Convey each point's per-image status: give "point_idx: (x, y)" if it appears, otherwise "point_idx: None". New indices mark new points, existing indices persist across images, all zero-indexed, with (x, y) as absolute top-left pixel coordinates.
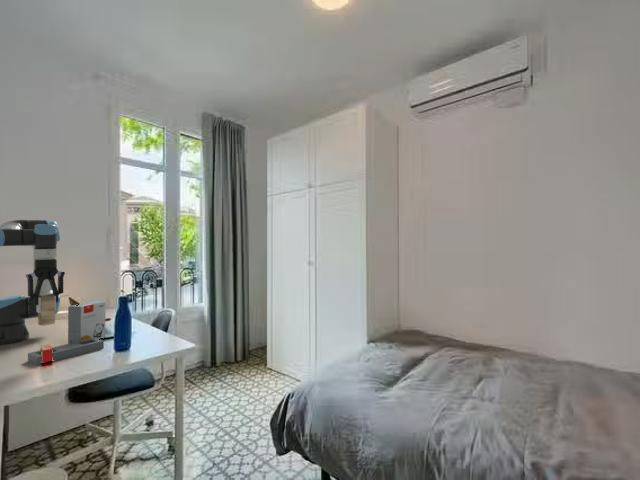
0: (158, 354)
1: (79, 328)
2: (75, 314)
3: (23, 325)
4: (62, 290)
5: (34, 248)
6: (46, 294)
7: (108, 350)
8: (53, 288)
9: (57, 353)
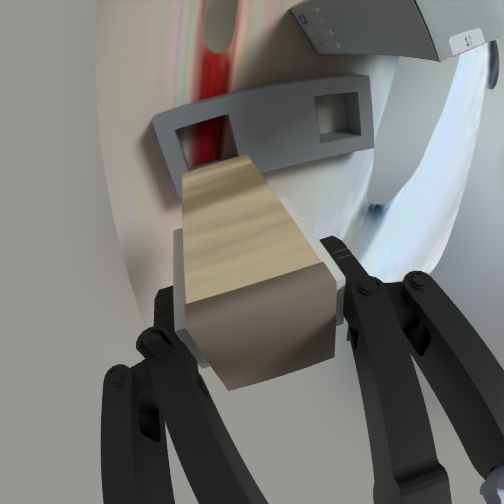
0: (389, 280)
1: (356, 51)
2: (391, 27)
3: None
4: (419, 334)
5: None
6: (280, 333)
7: (358, 177)
8: (362, 395)
9: None
